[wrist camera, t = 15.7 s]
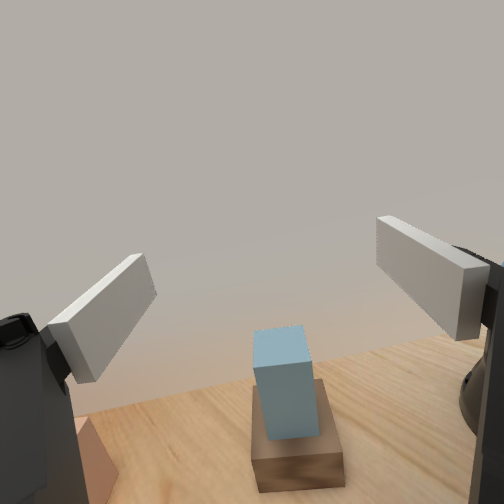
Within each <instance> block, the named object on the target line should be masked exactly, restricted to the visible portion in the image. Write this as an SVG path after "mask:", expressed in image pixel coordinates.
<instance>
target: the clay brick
mask: <svg viewBox="0 0 504 504" xmlns="http://www.w3.org/2000/svg"><path fill="white" fill-rule="evenodd" d="M74 421H75V427H76V433H77V438H78V444H79V449H80V455H81V460H82V466H83V471H84V477H85V483H86V488H87V494H88V499H89V504H106V503H107V501H108V498H109V496H110V494H111V491H112V489H113V486H114V484H115V482H116V479H117V477H118V475H119V473H118V472H117V470H116V468H115V466H114V464H113V462H112V460H111V458H110V456H109V454H108V453H107V451H106V449H105V447H104V445H103V443H102V441H101V439H100V437H99V435H98V434H97V432H96V430H95V428H94V426H93V424H92V422H91V420H90V418H89V417H80V418H74Z"/></svg>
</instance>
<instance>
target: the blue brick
mask: <svg viewBox="0 0 504 504" xmlns="http://www.w3.org/2000/svg"><path fill="white" fill-rule="evenodd" d="M253 355H254V356H253V369H254V374H255V379H256V384H257V388H258V393H259V398H260V403H261V407H262V412H263V417H264V422H265V427H266V431H267V436H268V441H269V440H280V439H290V438H301V437H312V436H320V432H319V423H318V414H317V405H316V396H315V387H314V378H313V369H312V361H311V357H310V353H309V349H308V345H307V341H306V337H305V334H304V329H303V325H300V326H291V327H283V328H275V329H268V330H260V331H254V354H253Z"/></svg>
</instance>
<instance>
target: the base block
mask: <svg viewBox="0 0 504 504" xmlns="http://www.w3.org/2000/svg"><path fill="white" fill-rule="evenodd" d="M314 387H315V396H316V405H317V414H318V423H319V432H320V436H312V437H301V438H290V439H280V440H269V441H268V436H267V431H266V427H265V422H264V417H263V412H262V407H261V403H260V398H259V393H258V388H257V386H253V402H252V442H251V461H252V465H253V469H254V473H255V477H256V481H257V485H258V489H259V493H265V492H278V491H292V490H305V489H318V488H332V487H345V482H344V468H343V454H342V449H341V445H340V442H339V438H338V434H337V431H336V427H335V424H334V420H333V416H332V413H331V409H330V405H329V402H328V398H327V395H326V391H325V387H324V384H323V380H322V379H314Z"/></svg>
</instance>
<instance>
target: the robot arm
mask: <svg viewBox="0 0 504 504" xmlns="http://www.w3.org/2000/svg"><path fill="white" fill-rule="evenodd" d="M377 265H378V266H379V267H380V268H381V269H382V270H383V271H384V272H385V273H386V274H387V275H388V276H389V277H390V278H391V279H392V280H393V281H394V282H395V283H396V284H398V286H399V287H401V288H402V289H403V290H404V291H405V292H406V293H407V294H408V295H409V296H410V297H411V298H412V299H413V300H414V301H415V302H416V303H417V304H418V305H419V306H420V307H421V308H422V309H423V310H424V311H425V312H426V313H427V314H428V315H429V316H430V317H431V318H432V319H433V320H434V321H435V322H436V323H437V324H438V325H439V326H440V327H441V328H442V329H444V330H445V331H446V332H447V333H448V334H449V335H450V336H451V337H452V338H453V339H454V340H455V341H461V340H470V339H478V338H479V334H480V328H481V323H482V324H483V325H485V326H486V327H487V328H488V330H487V336H486V342H485V349H484V354H483V356H482V357H481V359H480V360H479V361H478V362H477V363H476V365H475V366H474V367H473V369H472V370H471V371H470V372H469V373H468V374H467V375H466V377H465V378H464V380H463V382H462V385H461V391H460V398H459V403H460V408H461V411H462V414H463V416H464V418H465V420H466V422H467V423H468V425H469V426H470V428H471V429H472V431H473V432H474V433H475V434H476V435H477V441H476V448H475V456H474V464H473V472H472V480H471V487H470V495H469V503H468V504H504V262H503V263H502V265H501V266H500V265H498V264H496V263H494V262H492V261H490V260H488V259H484V257H482V256H480V255H476V254H475V253H473V252H471V251H469V250H467V249H464V248H460V247H456V246H453V245H449V244H447V243H445V242H443V241H441V240H439V239H437V238H435V237H433V236H431V235H429V234H427V233H425V232H423V231H421V230H419V229H417V228H415V227H413V226H411V225H409V224H407V223H405V222H403V221H401V220H399V219H397V218H395V217H393V216H384V217H378V218H377ZM156 295H157V293H156V290H155V287H154V284H153V281H152V278H151V274H150V272H149V268H148V265H147V262H146V260H145V256H144V253H140V254H133V255H130V256H129V257H128V258H127V259H125V260H124V261H123V262H122V263H120V264H119V265H118V266H117V267H116V268H115V269H114V270H112V271H111V272H110V273H108V274H107V275H106V276H105V277H103V278H102V279H101V280H100V281H99V282H97V283H96V284H95V285H94V286H93V287H92V288H90V289H89V290H88V291H87V292H85V293H84V294H83V295H82V296H81V297H79V298H78V299H77V300H76V301H74V302H73V303H72V304H71V305H70V306H69V307H67V308H66V309H65V310H64V311H63V312H61V313H60V314H59V315H58V316H56V317H55V318H54V319H53V320H52V321H50V322H49V323H48V324H47V326H46V327H45V328H43V329H42V330H41V331H40V332H38V330H37V328H36V326H35V324H34V322H33V320H32V318H31V317H30V315H29V314H28V313H20V314H16V315H12V316H9V317H6V318H4V319H2V320H0V504H89V499H88V494H87V488H86V483H85V477H84V471H83V466H82V460H81V455H80V449H79V444H78V438H77V433H76V427H75V421H74V416H73V410H72V405H71V399H70V394H69V388H68V386H67V384H66V382H65V378H66V377H67V376H68V375H69V374H70V373H71V372H72V374H73V376H74V378H75V380H76V382H77V384H82V383H89V382H96V381H97V380H98V378H99V377H100V376H101V374H102V373H103V371H104V370H105V368H106V367H107V366H108V364H109V363H110V361H111V360H112V358H113V357H114V356H115V354H116V353H117V351H118V350H119V348H120V347H121V345H122V344H123V343H124V341H125V340H126V338H127V337H128V336H129V334H130V333H131V331H132V330H133V328H134V327H135V325H136V324H137V323H138V321H139V320H140V318H141V317H142V315H143V314H144V313H145V311H146V310H147V308H148V307H149V305H150V304H151V302H152V301H153V300H154V298H155V297H156Z"/></svg>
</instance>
